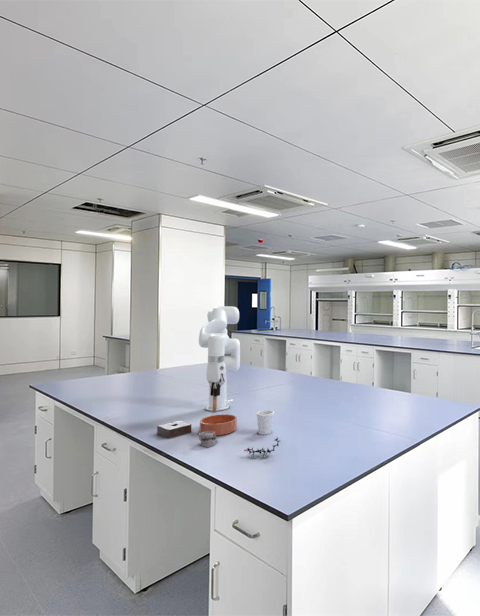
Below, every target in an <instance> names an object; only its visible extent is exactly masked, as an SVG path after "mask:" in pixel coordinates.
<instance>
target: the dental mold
mask: <svg viewBox="0 0 480 616" xmlns="http://www.w3.org/2000/svg"><path fill="white" fill-rule="evenodd" d="M213 435H214V436H213ZM198 439H199V441H200V445H199V446H202V447H205V448H211V447H213V446H214V445H215V444H217V436H216V434H215V431H205V432H201V433H200V432H199V433H198Z"/></svg>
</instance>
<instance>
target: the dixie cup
mask: <svg viewBox="0 0 480 616" xmlns="http://www.w3.org/2000/svg"><path fill="white" fill-rule="evenodd" d="M255 414H256V419H257V428H258V434H259V435H268V434H271V433H272V426H273V420H274V414H275V411H274V410H270V409H269V410H260V411H257V412H256V413H255Z"/></svg>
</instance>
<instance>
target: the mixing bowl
mask: <svg viewBox="0 0 480 616" xmlns="http://www.w3.org/2000/svg"><path fill="white" fill-rule="evenodd" d="M237 421H238V417H237V416H236V415H234V414H227V413H226V414H224V413H223V414H222V413H221V414H214V415H209V416H205V417H203V418H201V419H200V420H199V429H198V430H199V433H201V432H205V431H215V434H216V437H217V436H224V435H225V436H226V435H228V434H231V433H233V432H235V431H236V430H237V428H238V427H237V424H238V423H237ZM213 436H214V435H213Z"/></svg>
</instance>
